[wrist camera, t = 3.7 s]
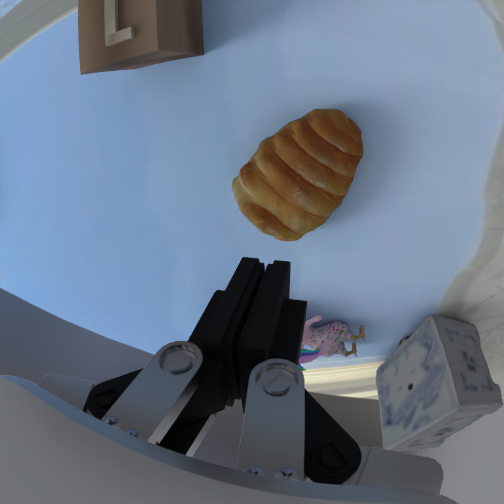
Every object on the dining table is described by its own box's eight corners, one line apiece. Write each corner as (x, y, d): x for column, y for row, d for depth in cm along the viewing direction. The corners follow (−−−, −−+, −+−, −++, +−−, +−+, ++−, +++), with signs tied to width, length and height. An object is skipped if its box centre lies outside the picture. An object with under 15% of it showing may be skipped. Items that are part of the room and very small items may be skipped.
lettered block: (201, -16, 14) (153, -41, 8) (204, 54, 17) (155, 49, 12) (131, 4, 15) (75, -4, 10) (134, 69, 18) (77, 75, 13)
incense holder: (428, 379, 28) (433, 457, 19) (373, 363, 28) (369, 451, 20) (483, 325, 22) (508, 412, 13) (428, 301, 22) (449, 403, 14)
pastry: (308, 84, 17) (302, 84, 13) (386, 150, 17) (397, 165, 14) (231, 184, 22) (212, 204, 19) (301, 237, 23) (294, 265, 20)
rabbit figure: (366, 301, 26) (204, 285, 27) (378, 351, 21) (187, 335, 22) (348, 343, 29) (207, 330, 30) (354, 390, 24) (194, 377, 25)
